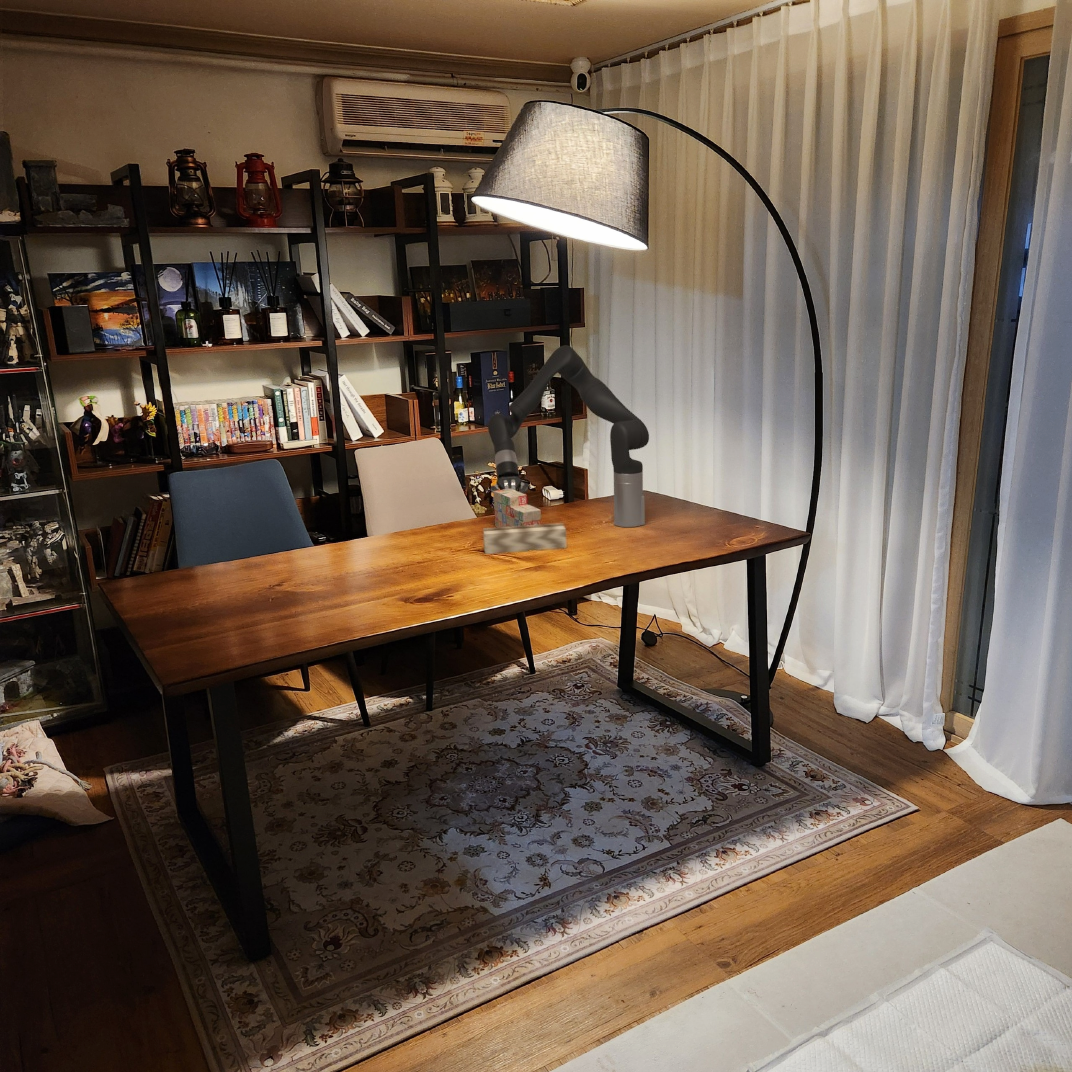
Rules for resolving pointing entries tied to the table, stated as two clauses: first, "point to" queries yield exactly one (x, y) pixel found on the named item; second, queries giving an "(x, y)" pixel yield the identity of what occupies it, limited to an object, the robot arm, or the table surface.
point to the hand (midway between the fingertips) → (512, 510)
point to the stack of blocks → (514, 509)
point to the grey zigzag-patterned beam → (524, 538)
